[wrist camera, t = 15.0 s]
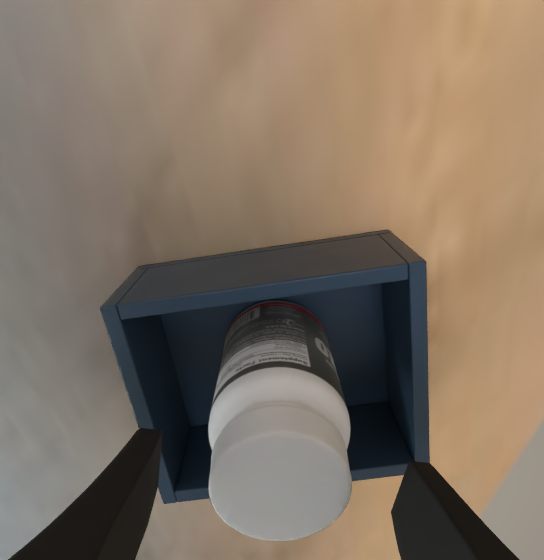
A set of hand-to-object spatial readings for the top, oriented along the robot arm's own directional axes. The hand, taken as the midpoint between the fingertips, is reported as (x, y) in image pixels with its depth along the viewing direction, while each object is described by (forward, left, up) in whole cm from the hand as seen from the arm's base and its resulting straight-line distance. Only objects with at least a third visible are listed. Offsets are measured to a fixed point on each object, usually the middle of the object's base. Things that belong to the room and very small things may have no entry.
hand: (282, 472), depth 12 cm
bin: (0, 0, -8) cm, 8 cm away
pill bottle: (0, 0, -8) cm, 8 cm away
